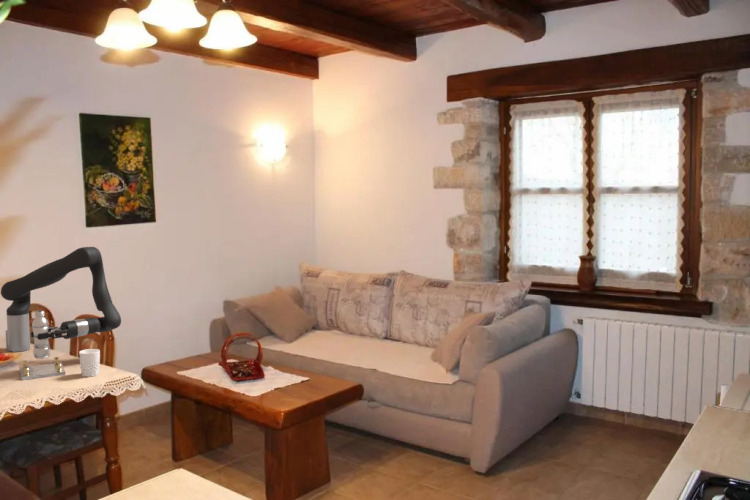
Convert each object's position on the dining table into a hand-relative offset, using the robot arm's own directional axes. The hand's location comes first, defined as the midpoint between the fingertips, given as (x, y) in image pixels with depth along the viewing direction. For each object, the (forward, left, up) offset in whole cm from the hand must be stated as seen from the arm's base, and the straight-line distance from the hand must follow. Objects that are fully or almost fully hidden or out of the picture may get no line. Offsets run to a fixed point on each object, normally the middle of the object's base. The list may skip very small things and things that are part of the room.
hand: (34, 335), depth 271 cm
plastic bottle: (+1, +2, -10) cm, 11 cm away
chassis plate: (+1, +2, -16) cm, 16 cm away
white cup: (+22, +5, -16) cm, 28 cm away
